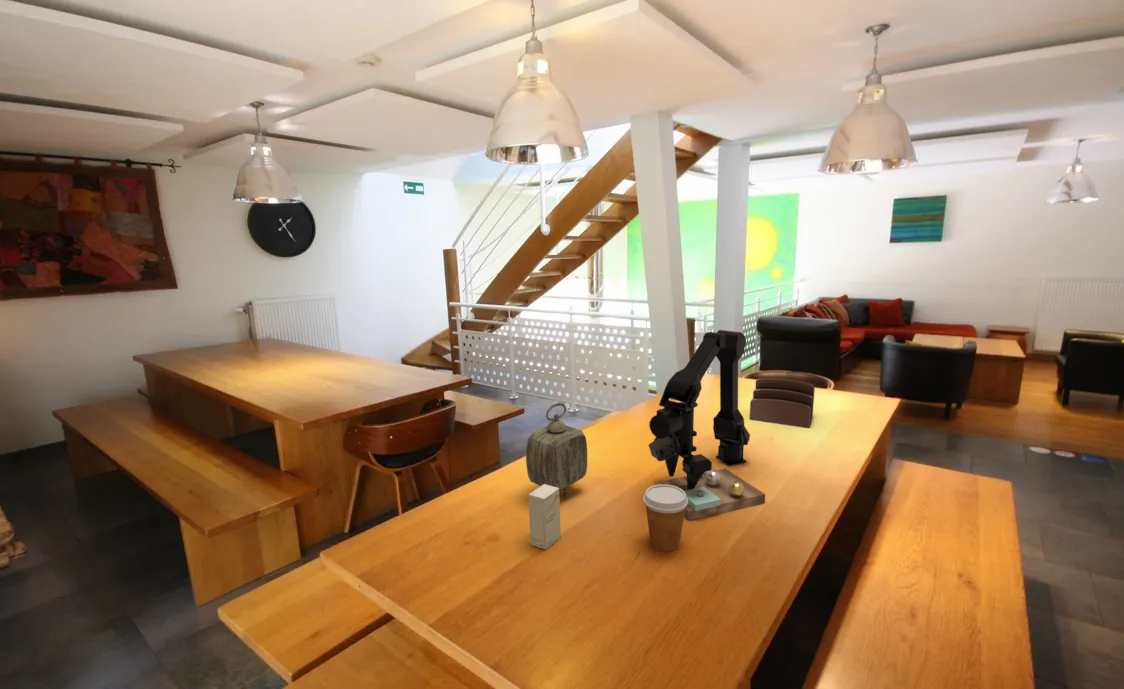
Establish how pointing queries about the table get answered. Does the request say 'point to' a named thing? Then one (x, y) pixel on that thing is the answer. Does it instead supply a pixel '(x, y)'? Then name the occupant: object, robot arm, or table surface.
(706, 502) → the cover
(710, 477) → the steel ball
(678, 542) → the disposable coffee cup
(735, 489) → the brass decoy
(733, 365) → the robot arm
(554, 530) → the skincare box
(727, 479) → the board
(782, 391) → the letter holder
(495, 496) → the table surface
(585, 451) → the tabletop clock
